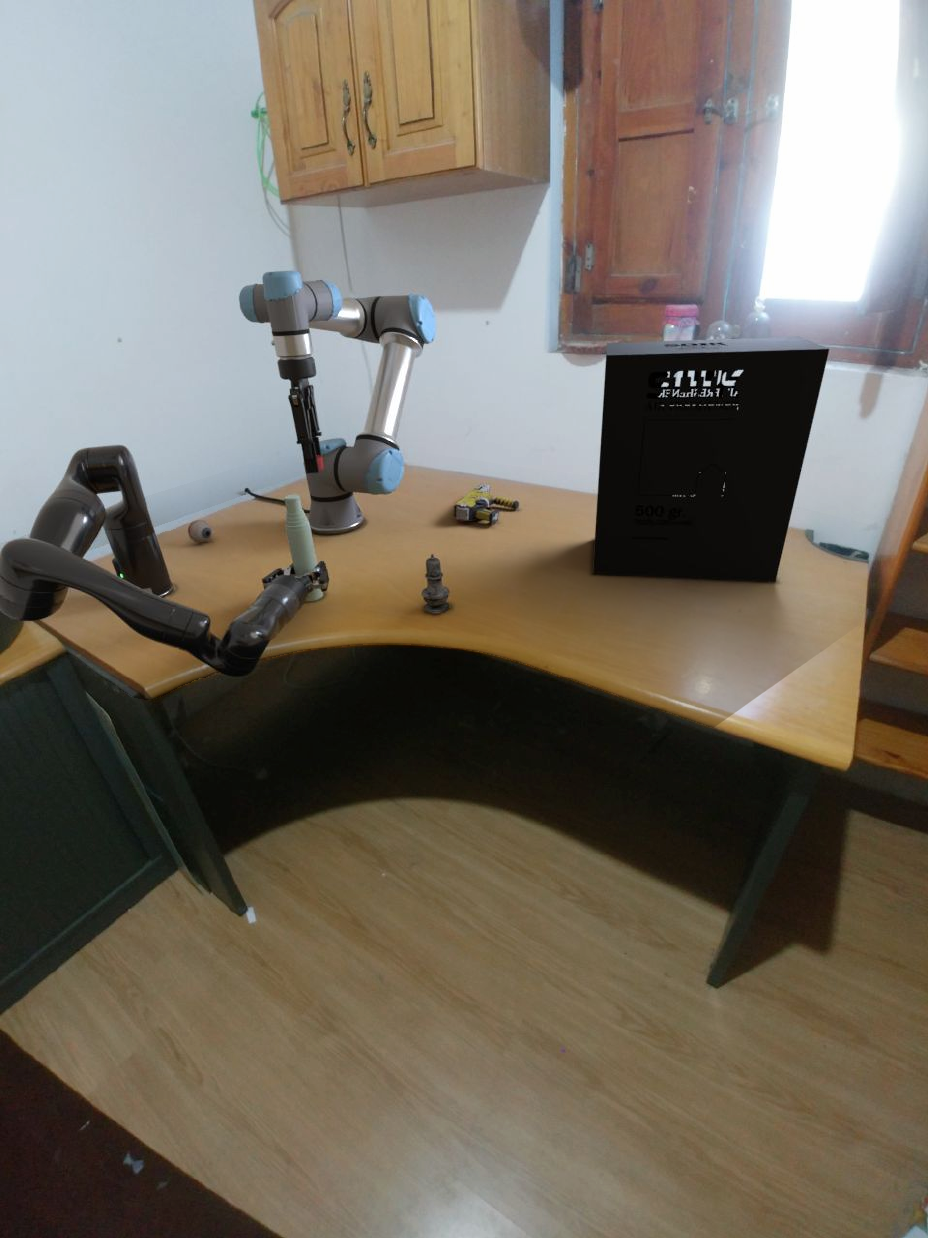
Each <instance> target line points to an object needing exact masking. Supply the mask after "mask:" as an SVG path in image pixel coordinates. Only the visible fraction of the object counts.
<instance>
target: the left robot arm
mask: <svg viewBox="0 0 928 1238" xmlns="http://www.w3.org/2000/svg"><path fill="white" fill-rule="evenodd" d="M117 492H118V493H119V492H120V493H121V497H122V499H121V500H119V502H116V503H114V504H112V505H110V506H108V507H105V504H104V503H103V500H102V499H101V498H100V497H99V495H100V494H108V493H117ZM102 529H103V531H104V533H105V536H106V538H107V540H108V541H107V542H108V543H109V546H110V549H111V551H112V554H113V558H112V559H111V563H112V566H113V568H114V571H115V573H116V574H115V573H113V572H112V571H109V570H107V569H105V568H103V567H101V566H99V565H98V564H95V563H93V562H91V561H90V560H88V559H85V558H84V557H85V555H86V554H87V552H88V551H89V549H90V548H91V546H92V545H93V543H94V542H95V540H96V539H97V537H98V536H99V535H100V534H99V533H100V532H101V530H102ZM315 575H316V577H315ZM261 582H262V586H263V590H262V591H261V593H259V595H258V596H257V598H256V600H255V601H254V602H253V603H252V604H251V606H249V608H248V609H247V610H245V611H244V612H241V614H239V615H237V616H235V618H233V620H232V621H231V622H230V624H229V625H228V626H227V628H226V630H225V632H224V634H223V636H222V638H220V637H218V636H216V635H215V634H214V633H213V632H211V624H212V621H211V617H210V616H209V615H208V614H207V613H205V612H203V611H201V610H199V609H194V608H193V607H190V606H188V605H184V604H181V603H178V602H176V601H173V600H170V599H168V598H165V597H166V596H168V595H170V594H171V593H172V592H173V590H174V587H175V586H174V585H173V582H172V579H171V577H170V573H169V571H168V567H167V564H166V561H165V557H164V555H163V551H162V549H161V546H160V543H159V539H158V537H157V534H156V531H155V528H154V525H153V520H152V518H151V515H150V513H149V509H148V504H147V500H146V496H145V494H144V491H143V487H142V484H141V480H140V477H139V472H138V467H137V465H136V461H135V459H134V456H133V454H132V453H131V451H130V450H129V448H128V447H127V446H125V445H123V444H109V445H100V446H99V445H98V446H89V447H84V448H80V449H78V450H77V451H75V452H74V453H73V455H72V457H71V458H70V460H69V463H68V464H67V468H66V470H65V472H64V475H63V476H62V478H61V480H60V481H59V483H58V485H56V488H55V489H54V491H53V492H52V493H51V494H50V495H49V497H48V498H47V499H46V501H44V504H43V505H42V506H41V508H40V509H39V511H38V512H37V515H36V517H35V519H34V521H33V523H32V526H31V530H30V532H29V535H28V537H22V538H15V539H12V540H10V541H8V542H6V543H5V544H4V545H3V546H2V547H1V550H0V612H1V613H2V614H3V615H5V616H6V617H8V618H10V619H14V620H16V621H22V622H35V621H40V620H44V619H47V618H49V617H51V616H53V615H54V614H56V613H57V612H58V611H59V610H60V609H61V608H62V606H63V604H64V603H65V599H66V597H67V595H68V591H69V588H71V589H73V590H77V591H78V592H81V593H83V594H86V595H88V596H90V597H92V598H93V599H95V600H97V601H98V602H99V603H101V604H102V605H104V606H105V607H106V608H108V609H109V610H110V611H111V612H112V613H114V614H115V615H116V616H117V617H118V618H119V619H120V620H121V621H122V622H123V623H124V624H125V625H127V626H128V627H129V628H130V629H131V630H132V631H134V632H135V633H137V634H138V635H140V636H142V637H144V638H146V639H148V640H150V641H153V642H155V643H159V644H162V645H164V646H166V647H167V646H168V647H171V648H173V649H178V650H180V651H183V652H185V653H188V654H189V655H191V656H192V657H194V658H195V659H196V660H198V661H200V662H201V663H203V664H205V665H206V666H208V667H210V668H211V669H213V670H215V671H216V672H218V673H220V674H222V675H225V676H228V677H234V678H240V677H241V678H242V677H246V676H248V675H250V674H251V673H253V671H254V670H255V669H256V666H258V663H259V661H260V659H261V658H262V656H263V654H264V652H265V650H266V649H267V647H268V645H269V644H270V642H271V641H272V640H274V639H275V638H277V636H279V634H280V633H281V632H282V630H283V629H284V627H286V625H287V624H288V623H290V622H291V621H292V619H294V617H295V616H296V615H297V613H298V612H299V610H301V607H303V605H304V604H305V602H306V598H307V595H308V593H310V592H312V591H313V589H321V591H322V592H323V593H325V592H327V591H328V588H329V584H330V577H329V571H328V568H327V564H326V562H325V560H320V561H318V562H317V566H316V567H315V569H313V570H307V571H306V572H304V573H302V574H301V575H300V574H298V575H296V574H295V571H294V566H293V562H292V563H291V564H290V565H289V566H287V567H285V568H284V569H282V567H279V568H276V569H274V570H272V571H271V572H270V573H268V574H267V575H266V576H264V577H263V578H261Z"/></svg>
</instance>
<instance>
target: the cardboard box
mask: <svg viewBox="0 0 928 1238" xmlns="http://www.w3.org/2000/svg"><path fill="white" fill-rule="evenodd" d="M605 351H606V352H605V367H604V369H605V370H604V383H603V384H604V385H603V399H602V400H603V401H602V415H601V431H600V433H601V434H600V448H599V465H598V481H597V497H596V511H595V512H596V514H595V529H594V531H595V532H594V547H593V548H594V550H593V566H592V575H608V576H628V577H629V576H631V577H654V578H655V577H656V578H675V579H676V578H677V579H678V578H679V579H701V580H702V579H703V580H724V581H725V580H726V581H747V582H770V583H776V582H777V577H778V573H779V568H780V565H781V560H782V556H783V552H784V547H785V543H786V538H787V534H788V531H789V530H788V529H789V525H790V521H791V518H792V517H791V516H792V514H793V513H792V512H793V508H794V504H795V500H796V496H797V491H798V488H799V482H800V477H801V474H802V470H803V465H804V460H805V456H806V453H807V448H808V444H809V440H810V435H811V431H812V427H813V422H814V418H815V414H816V409H817V405H818V400H819V397H820V391H821V387H822V383H823V380H824V379H823V378H824V375H825V370H826V366H827V363H828V362H827V361H828V358H829V353H830V348H828V347H826V346H824V345H820V344H819V343H815V342H813V341H811V340H808V339H805V338H803V337H800V336H780V337H778V336H775V337H749V338H748V337H747V338H745V337H744V338H721V339H720V338H717V339H716V338H715V339H689V340H688V339H687V340H684V339H683V340H657V341H655V340H654V341H628V342H627V341H626V342H624V341H623V342H607V343H606V349H605ZM720 371H721V372H720ZM737 371H742V372H740V374H739V375H734V374H735V373H736V372H737ZM678 372H682V376H681V377H680V382H679V385H677V386H676V382H677V377H676V374H677V373H678ZM689 372H694V373H693V382H695V385H691V384H692V376H689ZM702 372H705V375H704V376H702V374H703V373H702ZM719 375H720V379H719ZM724 375H725V377H724ZM723 378H724V382H734V383H733V385H725V384H723ZM705 382H710V385H704V384H705ZM664 383H665V384H666V383H667V386H663V385H664Z"/></svg>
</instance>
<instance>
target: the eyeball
mask: <svg viewBox="0 0 928 1238" xmlns="http://www.w3.org/2000/svg"><path fill="white" fill-rule="evenodd" d="M187 534H188V537H189V538H190V539H191V540H192V541H193V542H196V543H198V544H199V543H201V544H202V543H207V542H208V541H209V540H211V538H212V536H213V527H212V526H211V524H210V523H209V522H207V521H205V520H201V519H197V520H193V521H192V522H191V523H190V524H189V525H188V527H187Z"/></svg>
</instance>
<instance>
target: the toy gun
mask: <svg viewBox="0 0 928 1238" xmlns="http://www.w3.org/2000/svg"><path fill="white" fill-rule="evenodd" d="M493 505H495V506H500V507H504V508H510V509H512V510H514V511H516V510H518V509H519V507H520V502H519V501H518V500H512V499H508V498H504V497H500V496H496V497H495V498H493V496H492V494H491V485H490V484H488V483H486V484H485V483H482V482H481V483H480V484H479V485H477V486H476V487H475V488H473V489H471V491H469V492H468V493H467V494H465V496H464V497H462V498H461V499H460V500H459V501H458V502H456V503H455V504H454V505H453V511H452V513H453V514H452V517H453V518H454V519H455V520H457V522H462V523H464V522H465V521H467V522H471V521H477V520H482V521H483V520H484V521H486V522H489V525H492V526H493V524H495V523H497V522H498V521H499V515H500V509H498V508H494V510H493V509H492V507H491V506H493Z"/></svg>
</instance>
